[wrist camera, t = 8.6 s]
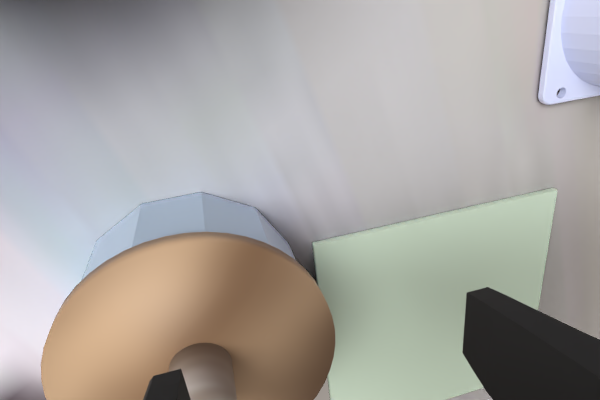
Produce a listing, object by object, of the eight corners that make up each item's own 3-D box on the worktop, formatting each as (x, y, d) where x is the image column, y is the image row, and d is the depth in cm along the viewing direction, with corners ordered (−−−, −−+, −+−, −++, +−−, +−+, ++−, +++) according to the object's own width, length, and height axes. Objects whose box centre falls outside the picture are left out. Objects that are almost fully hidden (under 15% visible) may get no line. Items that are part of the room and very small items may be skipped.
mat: (553, 187, 24) (557, 189, 23) (524, 371, 30) (527, 374, 29) (312, 242, 21) (313, 245, 21) (333, 430, 27) (334, 434, 27)
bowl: (278, 176, 19) (300, 213, 16) (301, 337, 24) (322, 395, 20) (54, 220, 18) (22, 272, 14) (121, 385, 22) (108, 457, 18)
